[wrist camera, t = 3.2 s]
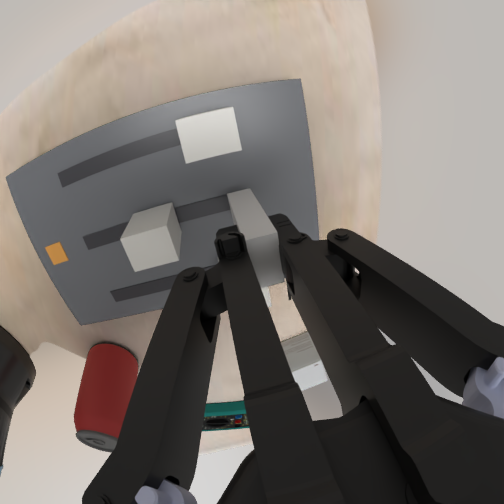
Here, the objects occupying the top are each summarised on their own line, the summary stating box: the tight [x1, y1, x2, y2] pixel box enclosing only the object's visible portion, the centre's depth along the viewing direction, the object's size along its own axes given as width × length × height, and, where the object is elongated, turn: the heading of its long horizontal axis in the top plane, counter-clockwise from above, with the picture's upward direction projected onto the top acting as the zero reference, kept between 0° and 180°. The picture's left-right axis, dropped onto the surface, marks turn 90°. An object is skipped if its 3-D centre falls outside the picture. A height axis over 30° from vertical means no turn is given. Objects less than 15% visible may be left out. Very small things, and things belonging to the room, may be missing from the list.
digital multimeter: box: [202, 401, 250, 431], centre depth 38 cm, size 7×15×3 cm, turn 85°
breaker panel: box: [6, 79, 319, 325], centre depth 18 cm, size 24×16×7 cm, turn 100°
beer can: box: [74, 343, 138, 452], centre depth 24 cm, size 7×7×12 cm
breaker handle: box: [120, 202, 182, 272], centre depth 17 cm, size 3×2×4 cm
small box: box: [281, 331, 328, 391], centre depth 31 cm, size 6×6×5 cm
